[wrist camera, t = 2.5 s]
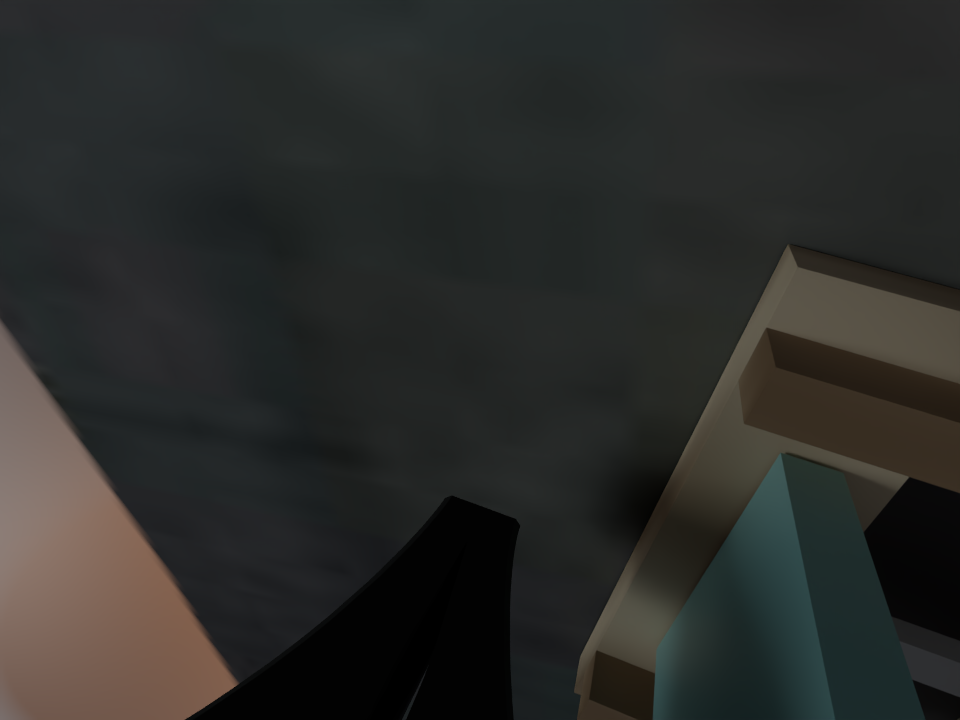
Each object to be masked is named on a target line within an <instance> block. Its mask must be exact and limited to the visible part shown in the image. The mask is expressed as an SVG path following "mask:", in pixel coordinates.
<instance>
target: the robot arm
mask: <svg viewBox="0 0 960 720" xmlns="http://www.w3.org/2000/svg"><path fill="white" fill-rule="evenodd" d="M519 528H520V525H519V523H518V522H517V520H516V519H514V518H511V517H509V516H506V515H503V514H501V513H498V512H495V511H492V510H490V509H487V508H484V507H482V506H479V505H476V504H473V503H471V502H468V501H465V500H463V499H460V498H457V497H454V496H450V497H447V498H445V499H444V501H443V502H442V503H441V505H440V506H439V507H438V509H437V510H436V511H435V512H434V513H433V515H432V516H431V517H430V518H429V520H428V521H427V522H426V523H425V524H424V525H423V526H422V528H421V529H420V530H419V531H418V532H417V533H416V534H415V535H414V536H413V537H412V538H411V540H410V541H409V542H408V543H407V544H406V545H405V546H404V547H403V548H402V549H401V550H400V551H399V552H398V553H397V554H396V555H395V556H394V557H393V558H392V559H391V560H390V561H389V562H388V563H387V564H386V565H385V566H384V567H383V568H382V569H381V570H380V571H379V572H378V573H377V574H376V575H375V576H374V577H372V578H371V579H370V580H369V581H368V582H367V583H366V584H365V585H364V586H363V587H362V588H360V589H359V590H358V591H357V592H356V593H355V594H354V595H352V596H351V597H350V598H349V599H348V600H347V601H346V602H344V603H343V604H342V605H341V606H340V607H339V608H338V609H336V610H335V611H334V612H333V613H332V614H331V615H330V616H328V617H327V618H326V619H325V620H324V621H322V622H321V623H320V624H319V625H317V626H316V627H315V628H314V629H313V630H311V631H310V632H309V633H308V634H306V635H305V636H304V637H302V638H301V639H300V640H299V641H297V642H296V643H295V644H293V645H292V646H291V647H289V648H288V649H287V650H286V651H284V652H283V653H282V654H280V655H279V656H278V657H276V658H275V659H274V660H272V661H271V662H270V663H268V664H267V665H265V666H264V667H263V668H261V669H260V670H258V671H257V672H255V673H254V674H253V675H251V676H250V677H248V678H247V679H245V680H244V681H243V682H241V683H240V684H238V685H237V686H236V687H234V688H233V689H231V690H230V691H229V692H227V693H225V694H224V695H222V696H221V697H219V698H218V699H217V700H215V701H213V702H212V703H210V704H209V705H207V706H206V707H205V708H203V709H201V710H200V711H198V712H197V713H195V714H193V715H192V716H190V717H189V718H187V719H185V720H402V718H403V716H404V714H405V712H406V710H407V708H408V706H409V704H410V702H411V700H412V698H413V696H414V694H415V692H416V690H417V687H418V685H419V683H420V681H421V679H422V677H423V675H424V673H425V671H426V669H427V671H426V674H425V677H424V679H423V681H422V684H421V686H420V689H419V691H418V693H417V696H416V698H415V700H414V703H413V705H412V707H411V710H410V712H409V714H408V717H407V719H406V720H513V706H512V689H511V671H510V592H511V578H512V566H513V557H514V551H515V545H516V540H517V535H518V531H519ZM428 665H429V666H428ZM427 667H428V668H427Z"/></svg>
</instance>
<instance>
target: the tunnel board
mask: <svg viewBox="0 0 960 720" xmlns="http://www.w3.org/2000/svg"><path fill="white" fill-rule="evenodd" d="M780 453H783V454H787V455H790V456H793V457H796V458H799V459H802V460H805V461H808V462H811V463H814V464H817V465H820V466H823V467H827V468H830V469H833V470H836V471H839V472H842V473H844V476H845V479H846V482H847V485H848V488H849V491H850V494H851V497H852V500H853V503H854V506H855V509H856V512H857V515H858V518H859V521H860V524H861V527H862V530H863V533H864V536H865V539H866V542H867V545H868V548H869V551H870V554H871V557H872V560H873V563H874V566H875V569H876V572H877V575H878V578H879V581H880V584H881V587H882V590H883V593H884V596H885V599H886V602H887V605H888V608H889V611H890V614H891V617H894V618H897V619H900V620H903V621H905V622H908V623H911V624H914V625H917V626H919V627H922V628H925V629H928V630H931V631H933V632H936V633H939V634H942V635H944V636H947V637H950V638H953V639H956V640H958V641H960V290H958V289H954V288H950V287H947V286H943V285H939V284H935V283H932V282H928V281H924V280H920V279H917V278H913V277H909V276H906V275H902V274H898V273H894V272H891V271H887V270H883V269H879V268H876V267H872V266H868V265H864V264H861V263H857V262H853V261H850V260H846V259H842V258H838V257H835V256H831V255H827V254H823V253H820V252H816V251H812V250H809V249H805V248H801V247H797V246H794V245H790V244H788V245H787V247H786V249H785V251H784V253H783V255H782V257H781V259H780V261H779V263H778V265H777V267H776V269H775V271H774V273H773V275H772V277H771V279H770V281H769V283H768V285H767V287H766V289H765V291H764V293H763V295H762V297H761V299H760V301H759V303H758V305H757V307H756V309H755V311H754V313H753V315H752V317H751V319H750V321H749V323H748V325H747V327H746V329H745V331H744V333H743V335H742V336H741V338H740V340H739V342H738V344H737V346H736V348H735V350H734V352H733V354H732V356H731V358H730V360H729V362H728V364H727V366H726V368H725V370H724V372H723V374H722V376H721V378H720V380H719V382H718V384H717V386H716V388H715V390H714V392H713V394H712V396H711V398H710V400H709V402H708V404H707V406H706V408H705V410H704V412H703V414H702V416H701V418H700V420H699V422H698V424H697V426H696V428H695V430H694V432H693V434H692V436H691V438H690V440H689V442H688V444H687V446H686V448H685V450H684V452H683V454H682V456H681V458H680V460H679V462H678V464H677V466H676V468H675V470H674V472H673V474H672V476H671V478H670V479H669V481H668V483H667V485H666V487H665V489H664V491H663V493H662V495H661V497H660V499H659V501H658V503H657V505H656V507H655V509H654V511H653V513H652V515H651V517H650V519H649V521H648V523H647V525H646V527H645V529H644V531H643V533H642V535H641V537H640V539H639V541H638V543H637V545H636V547H635V549H634V551H633V553H632V555H631V557H630V559H629V561H628V563H627V565H626V567H625V569H624V571H623V573H622V575H621V577H620V579H619V581H618V583H617V585H616V587H615V589H614V591H613V593H612V595H611V597H610V599H609V601H608V603H607V605H606V607H605V609H604V611H603V613H602V615H601V617H600V619H599V621H598V622H597V624H596V626H595V628H594V630H593V632H592V634H591V636H590V638H589V640H588V642H587V644H586V646H585V648H584V650H583V652H582V654H581V656H580V661H579V667H578V673H577V679H576V684H575V690H574V693H577V694H579V695H581V699H580V705H579V711H578V717H577V720H653V705H654V687H655V668H656V650H657V648H658V646H659V644H660V643H661V641H662V640H663V638H664V636H665V635H666V633H667V632H668V630H669V629H670V627H671V625H672V624H673V622H674V621H675V619H676V617H677V616H678V614H679V613H680V611H681V610H682V608H683V606H684V605H685V603H686V602H687V600H688V598H689V597H690V595H691V594H692V592H693V591H694V589H695V587H696V586H697V584H698V583H699V581H700V579H701V578H702V576H703V575H704V573H705V572H706V570H707V568H708V567H709V565H710V564H711V562H712V560H713V559H714V557H715V556H716V554H717V553H718V551H719V549H720V548H721V546H722V545H723V543H724V541H725V540H726V538H727V537H728V535H729V534H730V532H731V530H732V529H733V527H734V526H735V524H736V522H737V521H738V519H739V518H740V516H741V515H742V513H743V511H744V510H745V508H746V507H747V505H748V503H749V502H750V500H751V499H752V497H753V496H754V494H755V492H756V491H757V489H758V488H759V486H760V484H761V483H762V481H763V480H764V478H765V477H766V475H767V473H768V472H769V470H770V469H771V467H772V465H773V464H774V462H775V461H776V459H777V458H778V456H779V454H780ZM912 681H913V684H914V687H915V690H916V693H917V696H918V699H919V702H920V705H921V708H922V711H923V714H924V717H925V720H960V697H958V696H955V695H953V694H950V693H947V692H945V691H942V690H939V689H936V688H934V687H931V686H928V685H926V684H923V683H920V682H918V681H915V680H912Z"/></svg>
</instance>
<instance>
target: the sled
mask: <svg viewBox="0 0 960 720" xmlns="http://www.w3.org/2000/svg"><path fill="white" fill-rule="evenodd" d="M912 680H915V681H918V682H920V683H923V684H926V685H928V686H931V687H934V688H936V689H939V690H942V691H945V692H947V693H950V694H953V695H955V696H958V697H960V641H958V640H956V639H953V638H950V637H947V636H944V635H942V634H939V633H936V632H933V631H931V630H928V629H925V628H922V627H919V626H917V625H914V624H911V623H908V622H905V621H903V620H900V619H897V618H894V617H891V614H890V611H889V608H888V605H887V602H886V599H885V596H884V593H883V590H882V587H881V584H880V581H879V578H878V575H877V572H876V569H875V566H874V563H873V560H872V557H871V554H870V551H869V548H868V545H867V542H866V539H865V536H864V533H863V530H862V527H861V524H860V521H859V518H858V515H857V512H856V509H855V506H854V503H853V500H852V497H851V494H850V491H849V488H848V485H847V482H846V479H845V476H844V473H842V472H839V471H836V470H833V469H830V468H827V467H823V466H820V465H817V464H814V463H811V462H808V461H805V460H802V459H799V458H796V457H793V456H790V455H787V454H783V453H780V454H779V456H778V458H777V459H776V461H775V462H774V464H773V465H772V467H771V469H770V470H769V472H768V473H767V475H766V477H765V478H764V480H763V481H762V483H761V484H760V486H759V488H758V489H757V491H756V492H755V494H754V496H753V497H752V499H751V500H750V502H749V503H748V505H747V507H746V508H745V510H744V511H743V513H742V515H741V516H740V518H739V519H738V521H737V522H736V524H735V526H734V527H733V529H732V530H731V532H730V534H729V535H728V537H727V538H726V540H725V541H724V543H723V545H722V546H721V548H720V549H719V551H718V553H717V554H716V556H715V557H714V559H713V560H712V562H711V564H710V565H709V567H708V568H707V570H706V572H705V573H704V575H703V576H702V578H701V579H700V581H699V583H698V584H697V586H696V587H695V589H694V591H693V592H692V594H691V595H690V597H689V598H688V600H687V602H686V603H685V605H684V606H683V608H682V610H681V611H680V613H679V614H678V616H677V617H676V619H675V621H674V622H673V624H672V625H671V627H670V629H669V630H668V632H667V633H666V635H665V636H664V638H663V640H662V641H661V643H660V644H659V646H658V648H657V650H656V668H655V687H654V705H653V720H925V717H924V714H923V711H922V708H921V705H920V702H919V699H918V696H917V693H916V690H915V687H914V684H913V681H912Z"/></svg>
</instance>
